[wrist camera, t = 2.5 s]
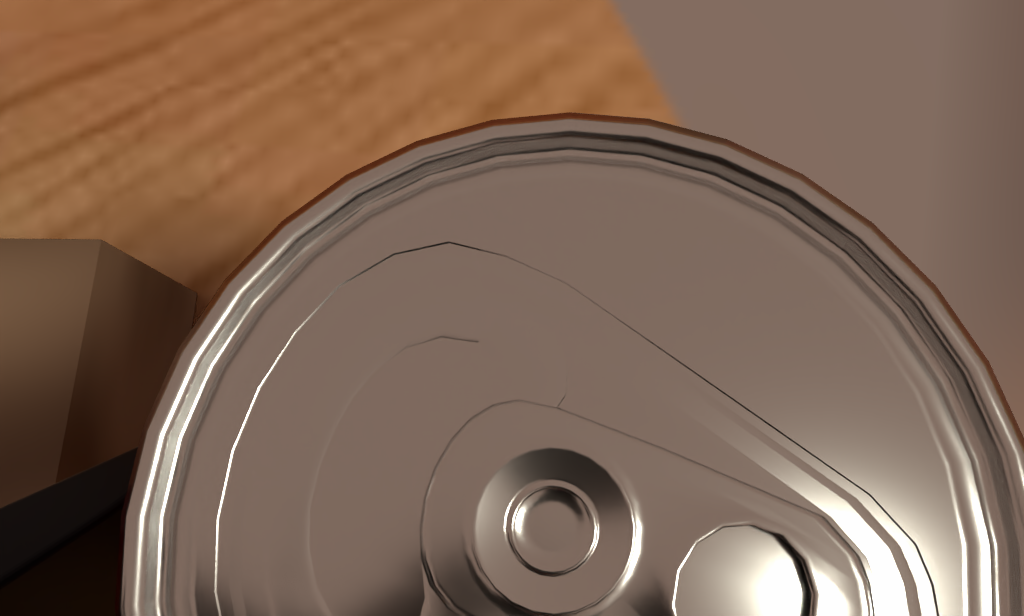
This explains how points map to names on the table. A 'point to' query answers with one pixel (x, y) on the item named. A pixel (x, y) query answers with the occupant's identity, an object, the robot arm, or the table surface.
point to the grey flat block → (79, 356)
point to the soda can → (576, 401)
